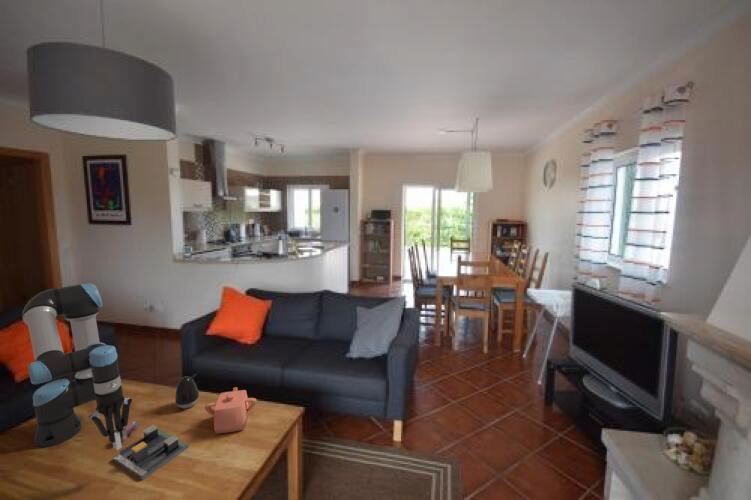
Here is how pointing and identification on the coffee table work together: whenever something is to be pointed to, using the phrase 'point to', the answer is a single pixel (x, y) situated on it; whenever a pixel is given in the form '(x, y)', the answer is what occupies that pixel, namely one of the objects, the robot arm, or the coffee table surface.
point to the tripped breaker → (139, 451)
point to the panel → (151, 452)
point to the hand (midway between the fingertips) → (117, 447)
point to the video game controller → (129, 430)
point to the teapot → (231, 411)
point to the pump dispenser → (186, 392)
